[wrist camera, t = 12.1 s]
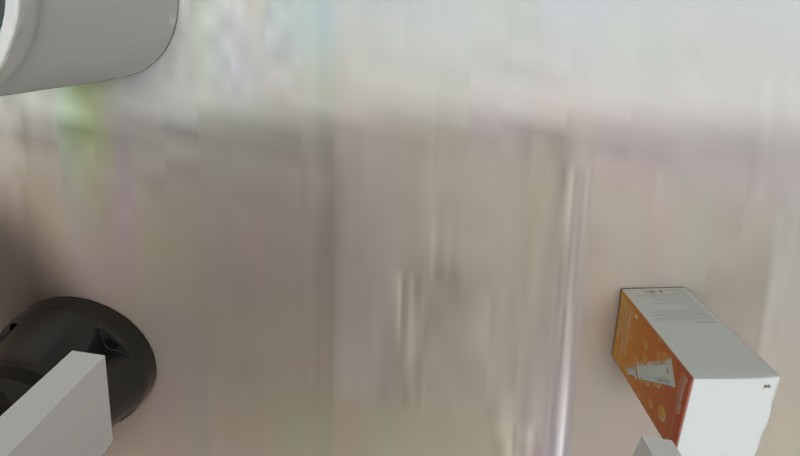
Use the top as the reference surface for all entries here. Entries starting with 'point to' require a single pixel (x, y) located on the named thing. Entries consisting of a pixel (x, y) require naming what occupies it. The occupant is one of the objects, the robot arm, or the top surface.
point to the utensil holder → (79, 40)
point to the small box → (693, 373)
